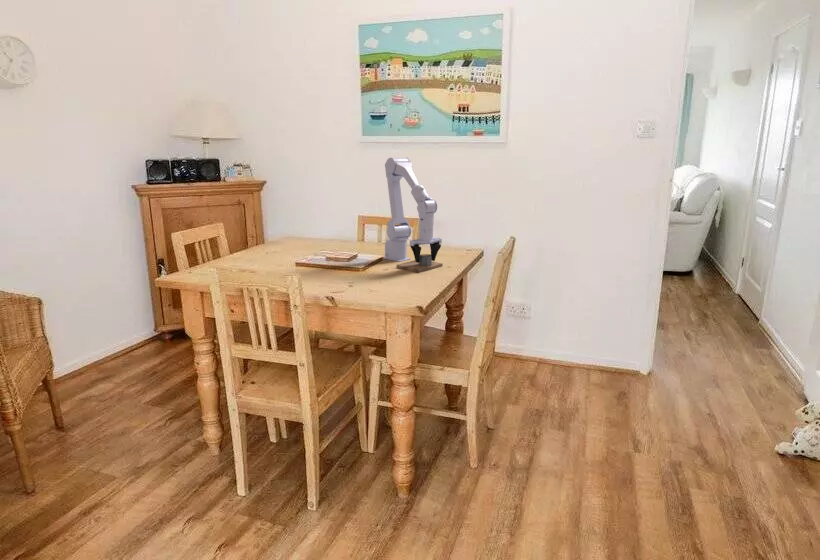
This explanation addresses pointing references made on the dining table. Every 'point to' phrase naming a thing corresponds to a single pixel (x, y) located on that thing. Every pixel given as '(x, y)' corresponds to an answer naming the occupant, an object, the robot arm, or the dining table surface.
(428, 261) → the grey control knob
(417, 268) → the stud board
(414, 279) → the dining table surface
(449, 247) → the dining table surface
